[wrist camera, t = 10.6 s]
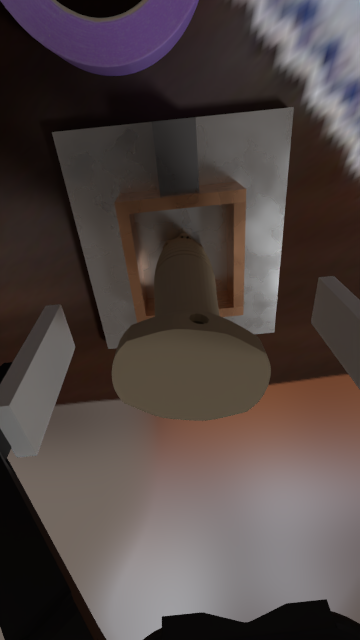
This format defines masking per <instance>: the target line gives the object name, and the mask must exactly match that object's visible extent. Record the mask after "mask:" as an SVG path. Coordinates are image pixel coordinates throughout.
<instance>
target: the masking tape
mask: <svg viewBox="0 0 360 640" xmlns="http://www.w3.org/2000/svg"><path fill="white" fill-rule="evenodd" d="M0 1H1V2H2V4H3V5H4V6H5V8H6V9H7V10H8V11H9V13H10V14H11V15H12V16H13V17H14V19H15V20H16V21H17V22H18V23H19V24H20V25H21V26H22V27H23V28H24V29H25V30H26V31H27V32H28V33H29V34H30V35H31V36H32V37H33V38H34V39H36V40H37V41H38V42H40V43H41V44H42V45H43V46H45V47H46V48H48V49H49V50H51V51H52V52H53V53H55V54H56V55H58V56H59V57H61V58H62V59H64V60H65V61H67V62H68V63H70V64H72V65H74V66H76V67H78V68H80V69H82V70H85V71H87V72H90V73H94V74H98V75H105V76H122V75H128V74H132V73H136V72H139V71H141V70H144V69H146V68H148V67H149V66H151V65H153V64H154V63H156V62H157V61H159V60H160V59H161V58H162V57H164V56H165V55H166V54H167V53H168V52H169V51H170V50H171V49H172V48H173V46H174V45H175V44H176V43H177V41H178V40H179V39H180V37H181V36H182V34H183V33H184V31H185V30H186V28H187V26H188V24H189V22H190V20H191V18H192V16H193V14H194V12H195V9H196V7H197V4H198V1H199V0H142V1H141V2H139V3H138V4H137V5H136V6H135V7H133V8H132V9H130V10H128V11H126V12H125V13H122V14H119V15H116V16H113V17H108V18H94V17H88V16H84V15H81V14H78V13H76V12H74V11H72V10H70V9H68V8H66V7H65V6H63V5H62V4H60V3H59V2H57V1H56V0H0Z"/></svg>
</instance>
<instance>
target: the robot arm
mask: <svg viewBox="0 0 360 640" xmlns="http://www.w3.org/2000/svg"><path fill="white" fill-rule="evenodd" d="M311 323H312V325H313V326H314V327H315V329H316V330H317V332H318V333H319V334H320V336H321V337H322V338H323V340H324V341H325V342H326V344H327V345H328V347H329V348H330V349H331V351H332V352H333V353H334V355H335V356H336V358H337V359H338V360H339V362H340V363H341V364H342V366H343V367H344V369H345V370H346V371H347V373H348V374H349V375H350V377H351V378H352V379H353V381H354V382H355V384H356V385H357V386H358V388H359V389H360V300H359V299H358V298H357V297H356V296H355V295H354V294H353V293H351V292H350V291H349V290H348V289H347V288H346V287H345V286H344V285H343V284H342V283H341V282H340V281H339V280H337V279H336V278H335V277H334V276H329V277H320V278H319V279H318V285H317V290H316V296H315V302H314V308H313V314H312V320H311ZM74 350H75V345H74V342H73V339H72V336H71V333H70V330H69V327H68V324H67V321H66V318H65V315H64V312H63V309H62V307H61V304H60V305H50V306H45V308H44V310H43V312H42V313H41V315H40V317H39V318H38V320H37V322H36V324H35V325H34V327H33V329H32V330H31V332H30V334H29V336H28V337H27V339H26V341H25V342H24V344H23V346H22V348H21V349H20V351H19V353H18V354H17V356H16V358H15V360H14V361H13V362H10V363H4V364H3V365H1V366H0V627H1V630H2V633H3V636H4V639H5V640H106V638H105V637H104V635H103V633H102V632H101V630H100V628H99V627H98V625H97V623H96V621H95V619H94V618H93V616H92V614H91V612H90V610H89V608H88V606H87V605H86V603H85V601H84V599H83V597H82V595H81V593H80V592H79V590H78V588H77V586H76V584H75V582H74V581H73V579H72V577H71V575H70V573H69V571H68V570H67V568H66V566H65V564H64V562H63V560H62V558H61V557H60V555H59V553H58V551H57V549H56V547H55V545H54V544H53V542H52V540H51V538H50V536H49V534H48V532H47V531H46V529H45V527H44V525H43V523H42V522H41V519H40V518H39V516H38V514H37V512H36V510H35V509H34V507H33V505H32V503H31V501H30V499H29V497H28V495H27V494H26V492H25V490H24V488H23V486H22V484H21V483H20V481H19V479H18V477H17V475H16V473H15V471H14V470H13V468H12V466H11V464H10V462H9V461H8V459H7V456H8V454H9V452H10V449H12V450H13V452H14V454H15V455H16V457H27V456H36V455H37V454H38V451H39V448H40V446H41V443H42V440H43V437H44V434H45V431H46V429H47V426H48V423H49V420H50V417H51V415H52V411H53V409H54V406H55V403H56V400H57V398H58V395H59V392H60V389H61V386H62V383H63V381H64V378H65V375H66V372H67V369H68V367H69V364H70V361H71V358H72V355H73V352H74ZM144 640H360V624H359V623H357V622H355V621H353V620H352V619H350V618H348V617H346V616H343V615H341V614H338V613H335V612H332V611H330V608H329V605H328V602H327V600H317V601H307V602H298V603H288V604H285V605H283V606H281V607H279V608H277V609H275V610H273V611H271V612H269V613H267V614H265V615H263V616H261V617H259V618H257V619H255V620H253V621H250V622H245V623H244V622H239V621H235V620H231V619H227V618H223V617H219V616H215V615H211V614H206V613H192V614H183V615H173V616H165V617H162V628H161V629H159V630H156V631H154V632H153V633H152V634H150V635H149V636H147V637H146V638H145V639H144Z"/></svg>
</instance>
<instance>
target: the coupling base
mask: <svg viewBox="0 0 360 640" xmlns="http://www.w3.org/2000/svg"><path fill="white" fill-rule="evenodd" d="M293 110H294V107H290V108H280V109H270V110H261V111H251V112H241V113H232V114H222V115H213V116H203V117H193V118H183V119H173V120H164V121H154V122H145V123H135V124H126V125H116V126H106V127H97V128H87V129H77V130H68V131H58V132H52V135H53V139H54V143H55V147H56V150H57V154H58V158H59V162H60V166H61V170H62V173H63V177H64V181H65V185H66V189H67V192H68V196H69V200H70V204H71V208H72V212H73V215H74V219H75V223H76V227H77V231H78V235H79V238H80V242H81V246H82V250H83V254H84V257H85V261H86V265H87V269H88V273H89V277H90V280H91V284H92V288H93V292H94V296H95V300H96V303H97V307H98V311H99V315H100V319H101V322H102V326H103V330H104V334H105V338H106V342H107V345H108V349H112V348H117V347H118V344H119V341H120V339H121V337H122V336H123V334H124V333H125V331H126V330H127V329H128V328H129V327H130V326H131V325H133V324H136V323H138V322H141V321H144V320H146V319H149V318H152V317H155V297H154V276H155V269H156V265H157V262H158V259H159V256H160V254H161V252H162V250H163V246H164V244H165V242H166V241H167V240H172V239H175V238H177V237H178V236H180V234H182V233H186V234H189V235H190V237H191V239H192V240H193V241H195V242H197V243H200V244H201V245H202V247H203V249H204V251H205V253H206V254H207V256H208V258H209V260H210V263H211V265H212V268H213V272H214V276H215V283H216V292H217V301H218V308H219V315H220V316H221V317H223V318H225V319H227V320H230V321H232V322H234V323H236V324H238V325H239V326H241V327H243V328H245V329H246V330H248V331H250V332H251V333H253V334H262V333H272V332H274V329H275V318H276V306H277V294H278V283H279V271H280V260H281V248H282V237H283V225H284V214H285V202H286V190H287V179H288V167H289V156H290V144H291V133H292V121H293Z"/></svg>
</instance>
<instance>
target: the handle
mask: <svg viewBox="0 0 360 640" xmlns="http://www.w3.org/2000/svg"><path fill="white" fill-rule="evenodd" d="M154 297H155V317H152V318H149V319H146V320H144V321H141V322H138V323H136V324H133V325H131V326H130V327H129V328H128V329H127V330H126V331H125V333H124V334H123V336H122V337H121V339H120V341H119V344H118V347H117V350H116V353H115V357H114V361H113V367H112V381H113V385H114V388H115V391H116V393H117V394H118V396H119V398H120V399H121V400H122V401H123V402H124V403H125V404H128V405H130V406H132V407H135V408H137V409H140V410H142V411H144V412H147V413H150V414H152V415H155V416H159V417H163V418H170V419H181V420H212V419H218V418H223V417H227V416H231V415H235V414H239V413H243V412H246V411H248V410H249V409H251V408H252V407H253V406H254V405H255V404H257V403H258V402H259V400H260V399H261V398H262V396H263V395H264V393H265V391H266V389H267V387H268V383H269V380H270V372H271V367H270V363H269V360H268V357H267V355H266V352H265V350H264V347H263V345H262V343H261V341H260V339H259V338H258V337H257V336H256V335H254V334H253V333H251V332H250V331H248V330H246V329H245V328H243V327H241V326H239V325H238V324H236V323H234V322H232V321H230V320H227V319H225V318H223V317H221V316H220V315H219V308H218V301H217V292H216V283H215V276H214V272H213V268H212V265H211V263H210V260H209V258H208V256H207V254H206V253H205V251H204V249H203V247H202V245H201V244H200V243H197V242H195V241H193V240H192V239H191V237H190V235H189V234H186V233H182V234H180V236H178V237H177V238H175V239H172V240H167V241H166V242H165V244H164V246H163V250H162V252H161V254H160V256H159V259H158V262H157V265H156V269H155V276H154Z"/></svg>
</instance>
